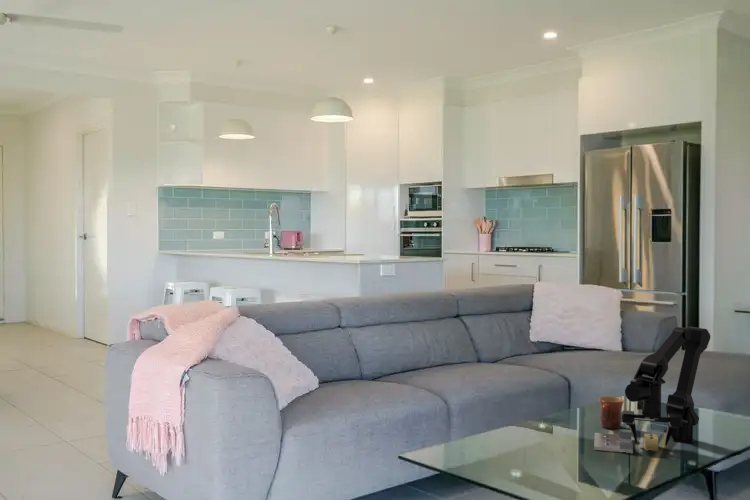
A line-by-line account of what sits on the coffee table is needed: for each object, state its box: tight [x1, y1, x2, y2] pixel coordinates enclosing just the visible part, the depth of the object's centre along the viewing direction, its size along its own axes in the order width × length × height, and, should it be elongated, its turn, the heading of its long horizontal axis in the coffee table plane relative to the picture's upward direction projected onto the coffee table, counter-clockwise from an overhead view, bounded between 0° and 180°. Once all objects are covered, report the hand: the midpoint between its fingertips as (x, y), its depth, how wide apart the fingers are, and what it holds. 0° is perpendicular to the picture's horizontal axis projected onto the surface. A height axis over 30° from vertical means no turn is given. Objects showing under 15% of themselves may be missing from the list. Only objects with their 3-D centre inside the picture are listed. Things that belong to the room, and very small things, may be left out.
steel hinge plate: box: [593, 428, 634, 454], centre depth 248 cm, size 12×16×3 cm
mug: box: [598, 395, 625, 430], centre depth 267 cm, size 12×9×10 cm
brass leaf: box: [643, 433, 659, 452], centre depth 244 cm, size 4×6×4 cm, turn 164°
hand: (650, 444), depth 244 cm, fingers open, 9 cm apart
